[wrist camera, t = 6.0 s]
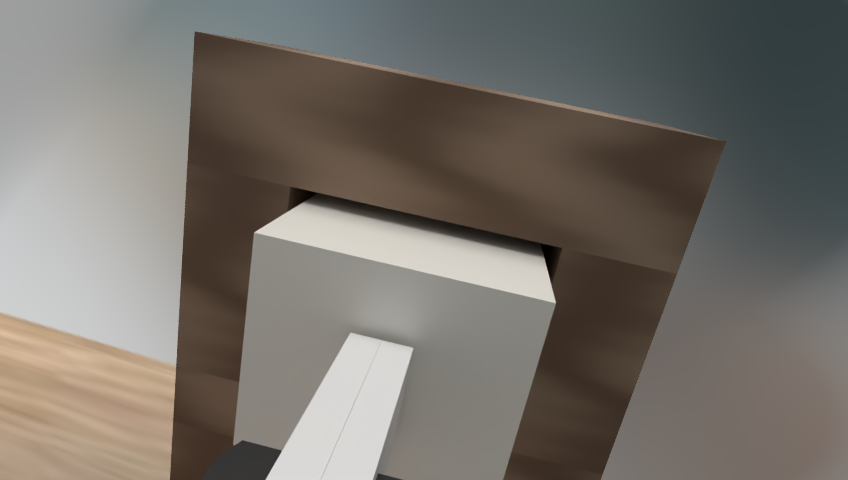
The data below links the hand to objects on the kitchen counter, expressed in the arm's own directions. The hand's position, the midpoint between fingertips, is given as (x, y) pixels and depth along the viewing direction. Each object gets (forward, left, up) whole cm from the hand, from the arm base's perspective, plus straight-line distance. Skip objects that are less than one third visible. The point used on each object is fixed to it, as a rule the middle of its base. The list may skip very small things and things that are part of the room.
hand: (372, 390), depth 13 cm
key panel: (0, -6, -17) cm, 18 cm away
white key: (0, -3, -3) cm, 4 cm away
